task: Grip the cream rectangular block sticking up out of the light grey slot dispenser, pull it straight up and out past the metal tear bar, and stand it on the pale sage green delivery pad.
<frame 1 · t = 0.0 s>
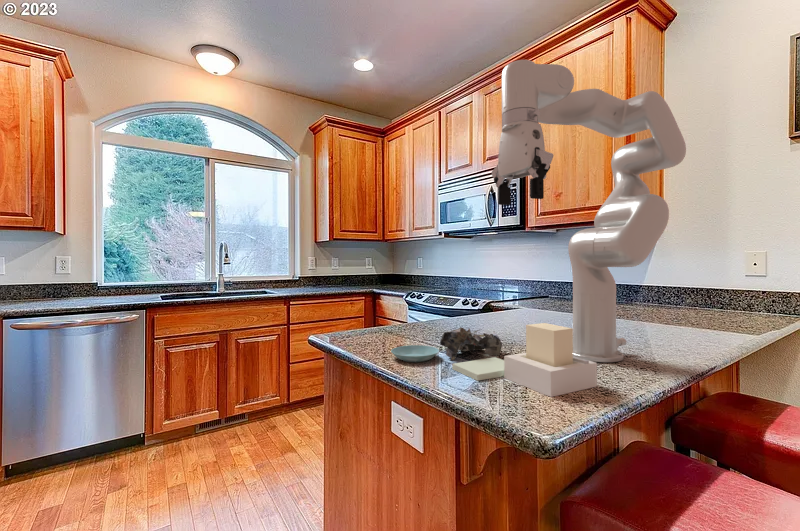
hand: (519, 201, 82), 37 cm above the countertop, tool pointing down, fingers open, 9 cm apart
delivery pad: (487, 370, 82), on the countertop
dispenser: (548, 381, 75), on the countertop
saucer: (415, 360, 93), on the countertop
foil: (471, 356, 96), on the countertop
cream rectangular block: (548, 382, 75), resting in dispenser
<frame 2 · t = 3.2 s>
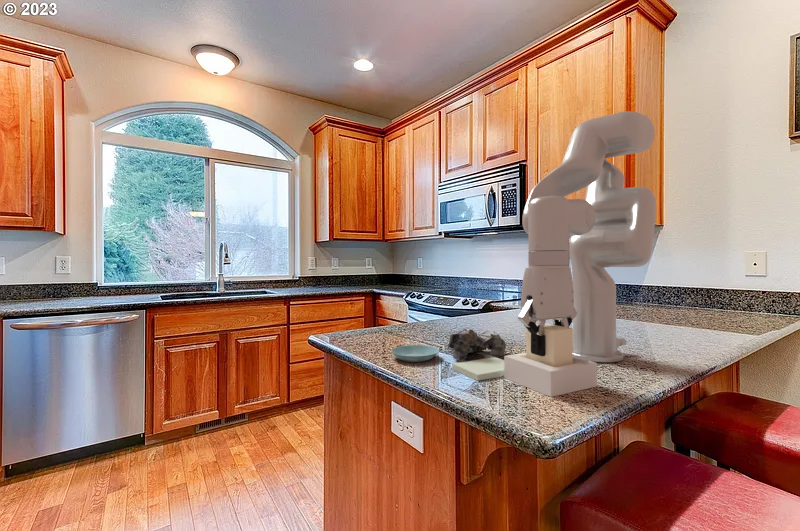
hand: (548, 352, 74), 6 cm above the countertop, tool pointing down, fingers closed on cream rectangular block, 4 cm apart
foil: (476, 358, 94), on the countertop
cream rectangular block: (548, 382, 75), resting in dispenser, touching gripper
everything else where it was.
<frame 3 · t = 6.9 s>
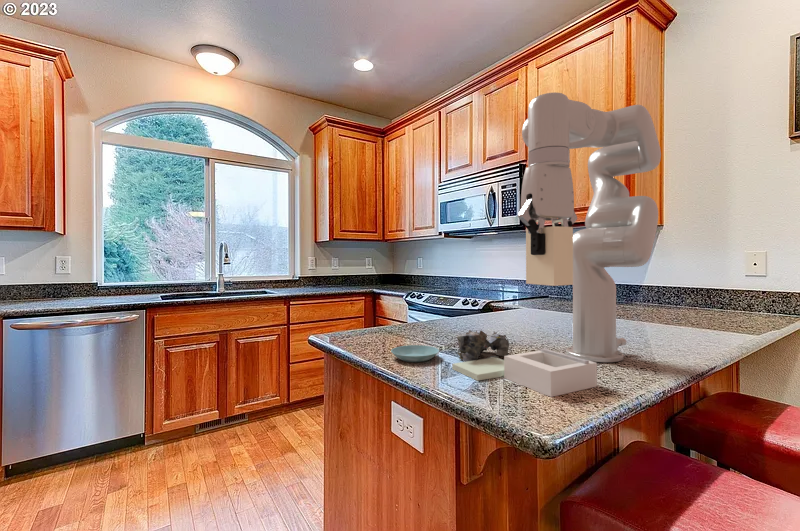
hand: (548, 253, 74), 25 cm above the countertop, tool pointing down, fingers closed on cream rectangular block, 4 cm apart
foil: (481, 359, 93), on the countertop
cream rectangular block: (548, 284, 74), point 19 cm above the countertop, touching gripper
everything else where it was.
when the fingers open (8 cm above the countertop, at t = 10.6 s): cream rectangular block stays where it is, resting on delivery pad.
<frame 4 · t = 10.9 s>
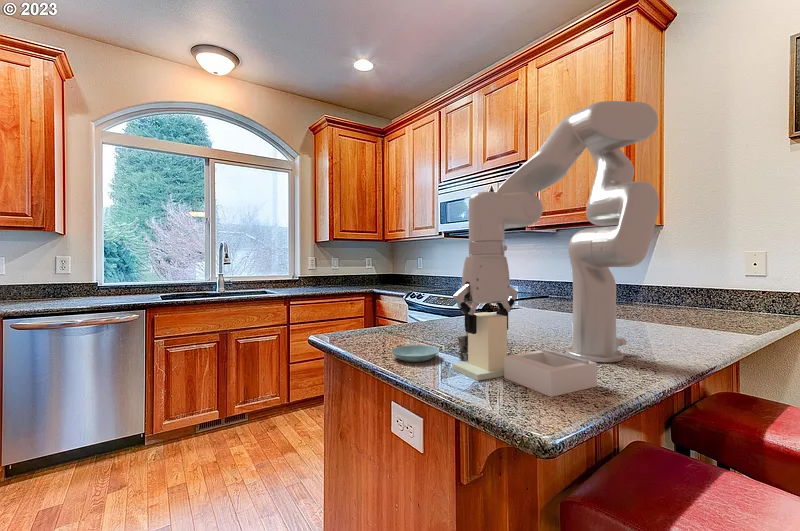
hand: (486, 330, 82), 9 cm above the countertop, tool pointing down, fingers open, 8 cm apart
cream rectangular block: (487, 365, 82), point 1 cm above the countertop, touching delivery pad
everything else where it was.
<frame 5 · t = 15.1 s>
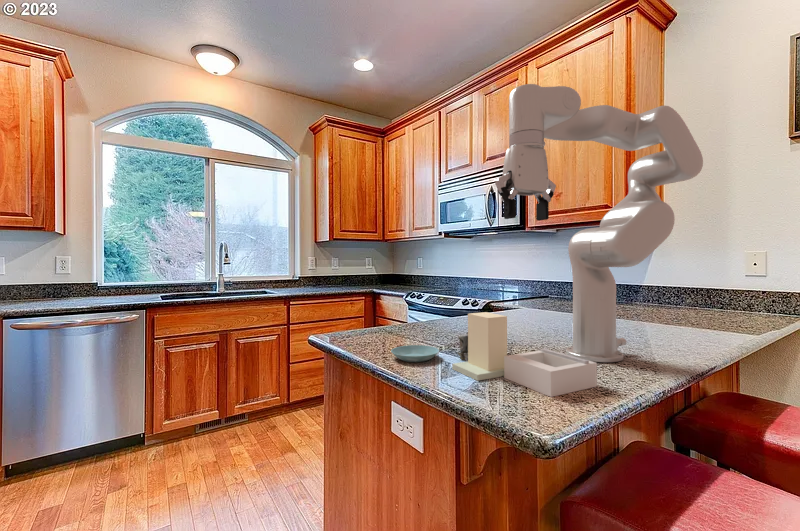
hand: (526, 219, 86), 33 cm above the countertop, tool pointing down, fingers open, 9 cm apart
at the end: cream rectangular block inside the target area on the delivery pad (0.0 cm from its centre), point 1.2 cm above the delivery pad's base; cream rectangular block tilted 0°; the gripper is holding nothing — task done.
